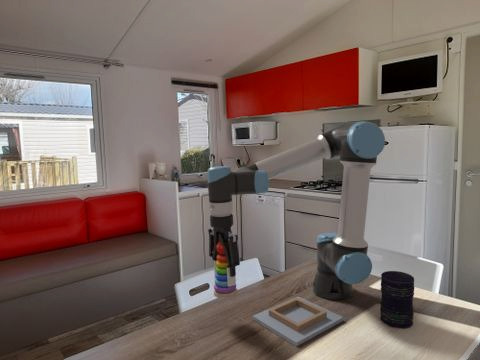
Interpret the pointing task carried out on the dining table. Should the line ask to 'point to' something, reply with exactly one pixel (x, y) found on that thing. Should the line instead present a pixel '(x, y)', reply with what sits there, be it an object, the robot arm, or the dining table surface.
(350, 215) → the robot arm
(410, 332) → the dining table surface
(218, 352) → the dining table surface
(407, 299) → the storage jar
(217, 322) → the dining table surface
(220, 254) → the stacking toy
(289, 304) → the baseplate
